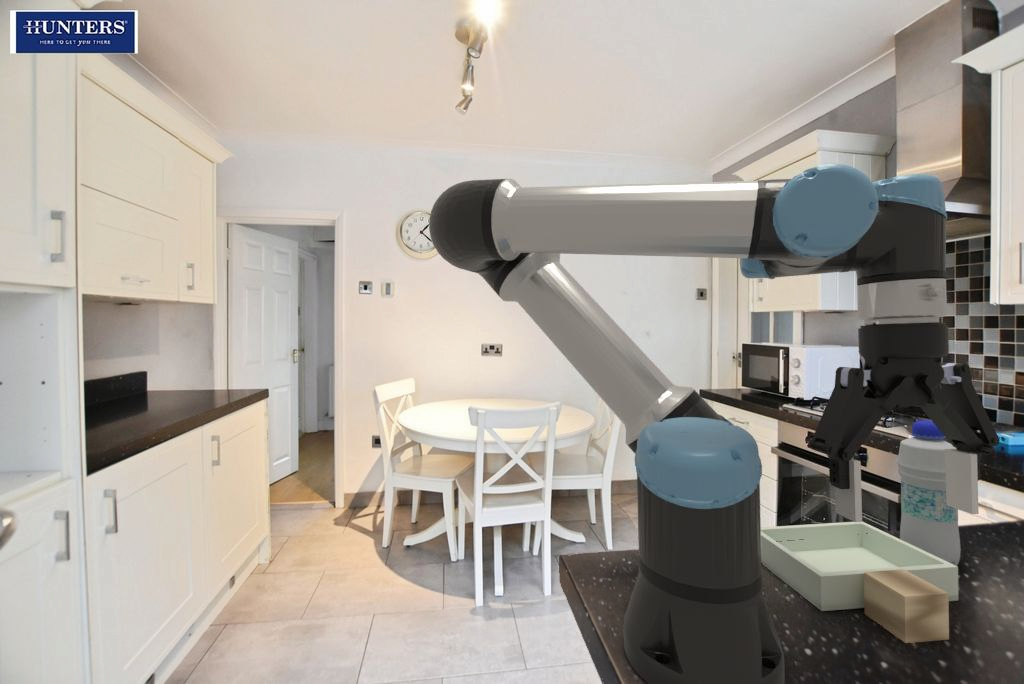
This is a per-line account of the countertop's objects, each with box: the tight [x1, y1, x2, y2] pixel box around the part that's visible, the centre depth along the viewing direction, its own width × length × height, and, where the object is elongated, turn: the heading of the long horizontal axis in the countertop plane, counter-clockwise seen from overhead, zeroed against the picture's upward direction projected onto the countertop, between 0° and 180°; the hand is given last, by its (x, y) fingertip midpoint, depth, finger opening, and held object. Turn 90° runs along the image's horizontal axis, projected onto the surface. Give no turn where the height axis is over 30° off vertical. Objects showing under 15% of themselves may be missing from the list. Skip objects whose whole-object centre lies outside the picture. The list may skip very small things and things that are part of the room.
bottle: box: [896, 420, 962, 567], centre depth 64 cm, size 7×7×20 cm
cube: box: [864, 569, 950, 644], centre depth 50 cm, size 5×5×5 cm
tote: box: [761, 520, 959, 612], centre depth 61 cm, size 18×14×4 cm
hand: (905, 513), depth 50 cm, fingers open, 13 cm apart
